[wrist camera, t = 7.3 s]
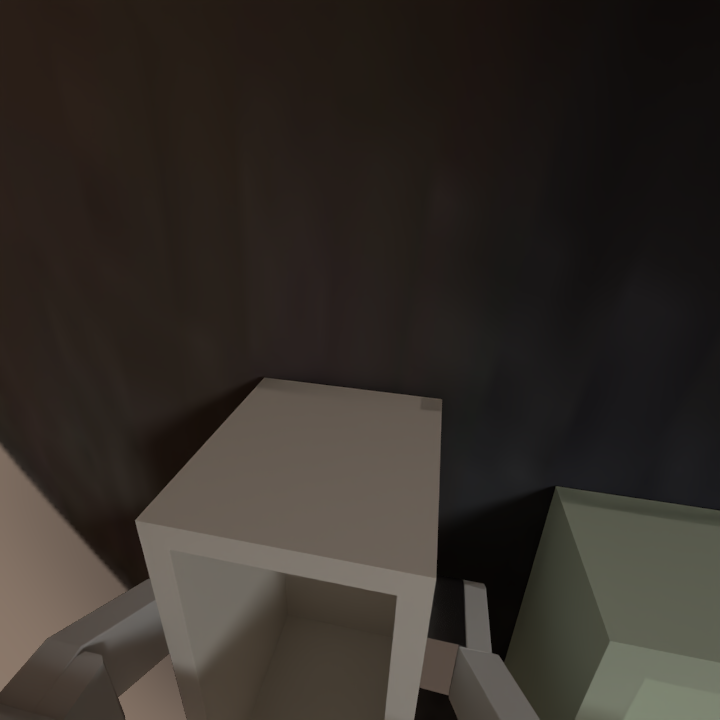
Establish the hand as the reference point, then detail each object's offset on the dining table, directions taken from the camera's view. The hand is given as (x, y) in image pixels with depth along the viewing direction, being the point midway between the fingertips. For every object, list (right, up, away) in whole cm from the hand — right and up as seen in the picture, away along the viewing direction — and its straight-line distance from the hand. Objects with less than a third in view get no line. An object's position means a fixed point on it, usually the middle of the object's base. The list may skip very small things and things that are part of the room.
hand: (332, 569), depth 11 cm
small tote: (0, +1, +2) cm, 2 cm away
